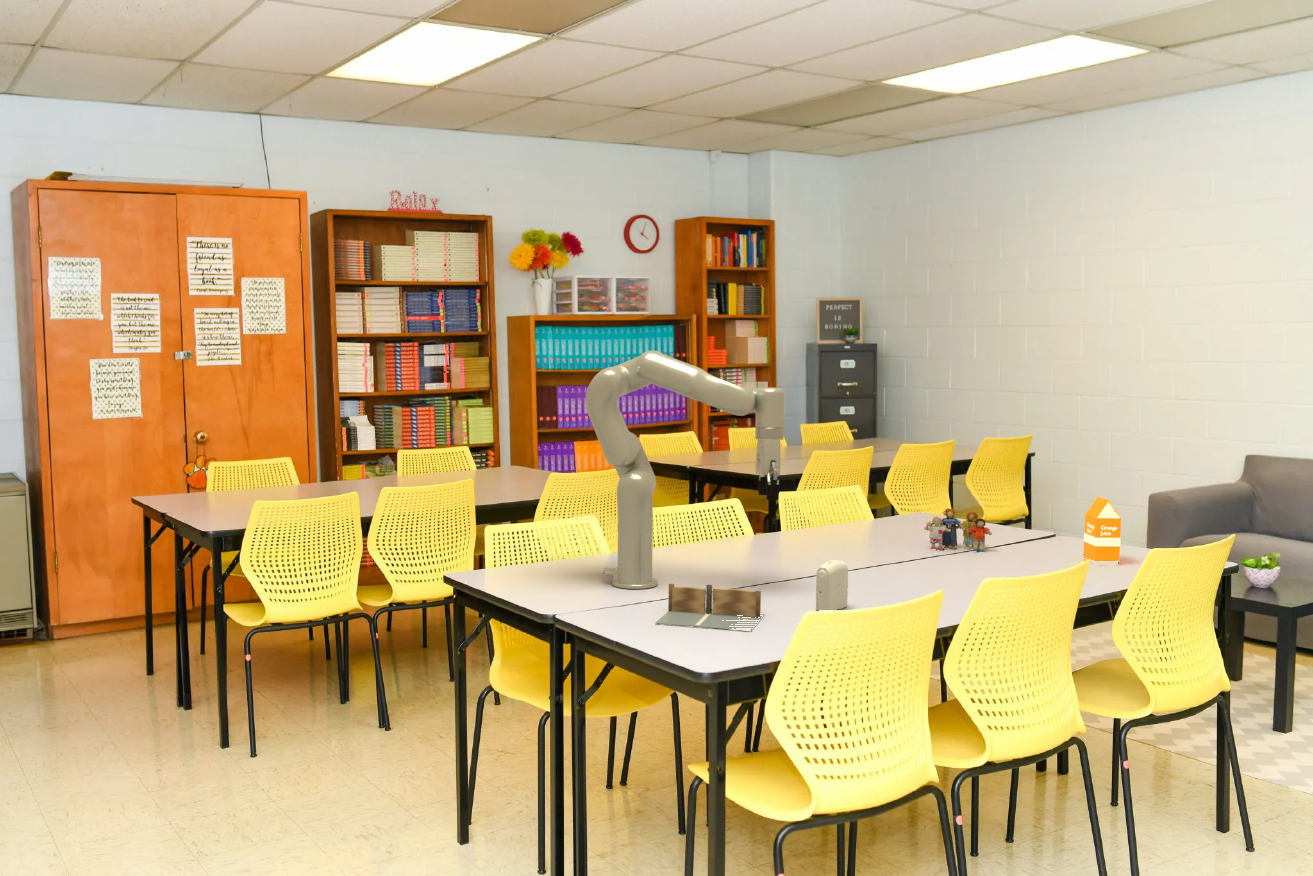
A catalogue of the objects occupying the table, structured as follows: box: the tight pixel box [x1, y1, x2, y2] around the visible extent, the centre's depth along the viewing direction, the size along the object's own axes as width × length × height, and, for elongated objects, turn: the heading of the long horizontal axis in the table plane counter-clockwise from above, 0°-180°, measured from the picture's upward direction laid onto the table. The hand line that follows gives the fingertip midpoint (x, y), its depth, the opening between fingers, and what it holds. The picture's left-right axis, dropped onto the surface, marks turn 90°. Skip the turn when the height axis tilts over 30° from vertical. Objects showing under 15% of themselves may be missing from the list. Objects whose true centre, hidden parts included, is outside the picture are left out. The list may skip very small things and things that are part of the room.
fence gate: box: [712, 587, 762, 617], centre depth 272 cm, size 12×1×6 cm, turn 74°
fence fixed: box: [667, 583, 713, 614], centre depth 275 cm, size 11×1×7 cm, turn 74°
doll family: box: [923, 508, 993, 553], centre depth 367 cm, size 21×10×13 cm, turn 77°
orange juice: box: [1082, 496, 1122, 561], centre depth 345 cm, size 8×9×20 cm
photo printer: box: [815, 559, 849, 611], centre depth 281 cm, size 10×4×12 cm, turn 140°
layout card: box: [654, 608, 765, 630], centre depth 270 cm, size 23×18×1 cm
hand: (768, 497), depth 302 cm, fingers open, 9 cm apart
